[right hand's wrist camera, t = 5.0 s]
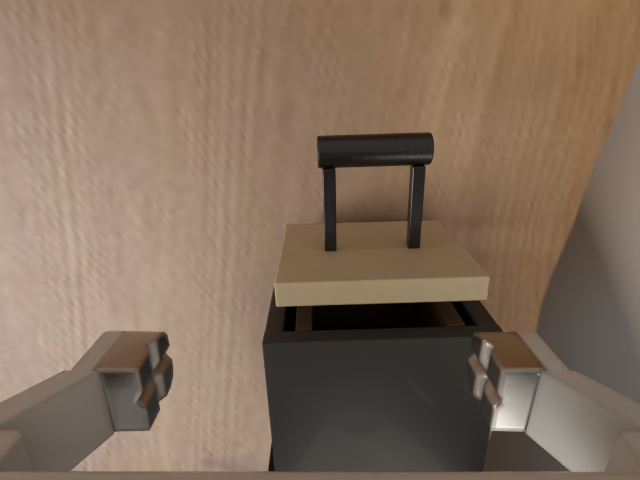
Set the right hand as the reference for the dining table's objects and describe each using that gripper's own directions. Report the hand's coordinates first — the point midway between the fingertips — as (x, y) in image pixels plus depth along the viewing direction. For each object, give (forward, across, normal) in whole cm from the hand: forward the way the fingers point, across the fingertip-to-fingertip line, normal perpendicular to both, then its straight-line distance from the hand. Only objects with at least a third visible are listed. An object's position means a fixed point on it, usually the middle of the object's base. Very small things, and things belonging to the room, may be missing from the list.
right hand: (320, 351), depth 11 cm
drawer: (+14, +3, -5) cm, 15 cm away
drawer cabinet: (+15, +3, -11) cm, 19 cm away
